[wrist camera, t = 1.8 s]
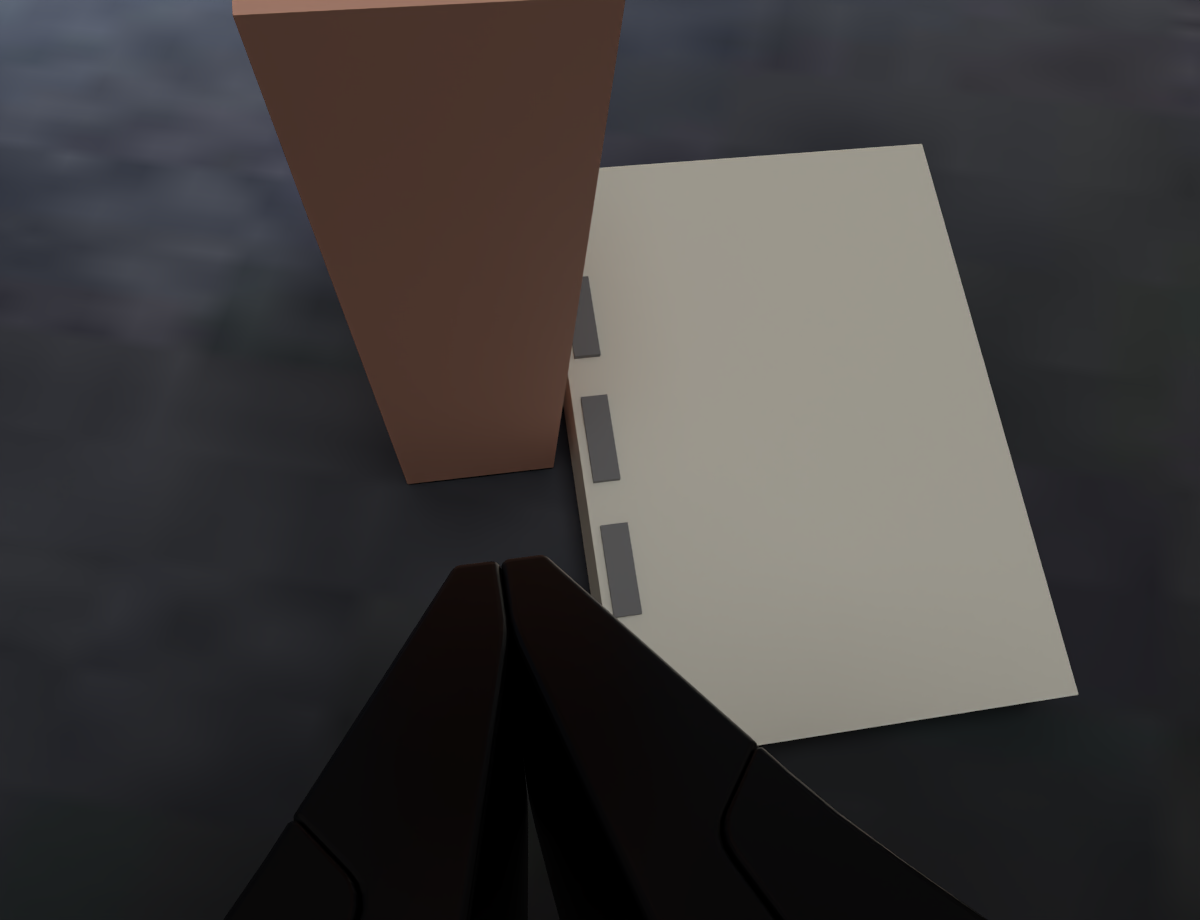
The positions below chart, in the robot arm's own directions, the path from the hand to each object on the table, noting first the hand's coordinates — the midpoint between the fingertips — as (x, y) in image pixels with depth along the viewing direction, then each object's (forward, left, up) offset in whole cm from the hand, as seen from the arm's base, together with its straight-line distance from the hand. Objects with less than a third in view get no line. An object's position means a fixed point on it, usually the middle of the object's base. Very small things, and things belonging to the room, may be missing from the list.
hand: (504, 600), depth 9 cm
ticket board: (+9, -1, -13) cm, 16 cm away
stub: (+5, +6, -13) cm, 16 cm away
